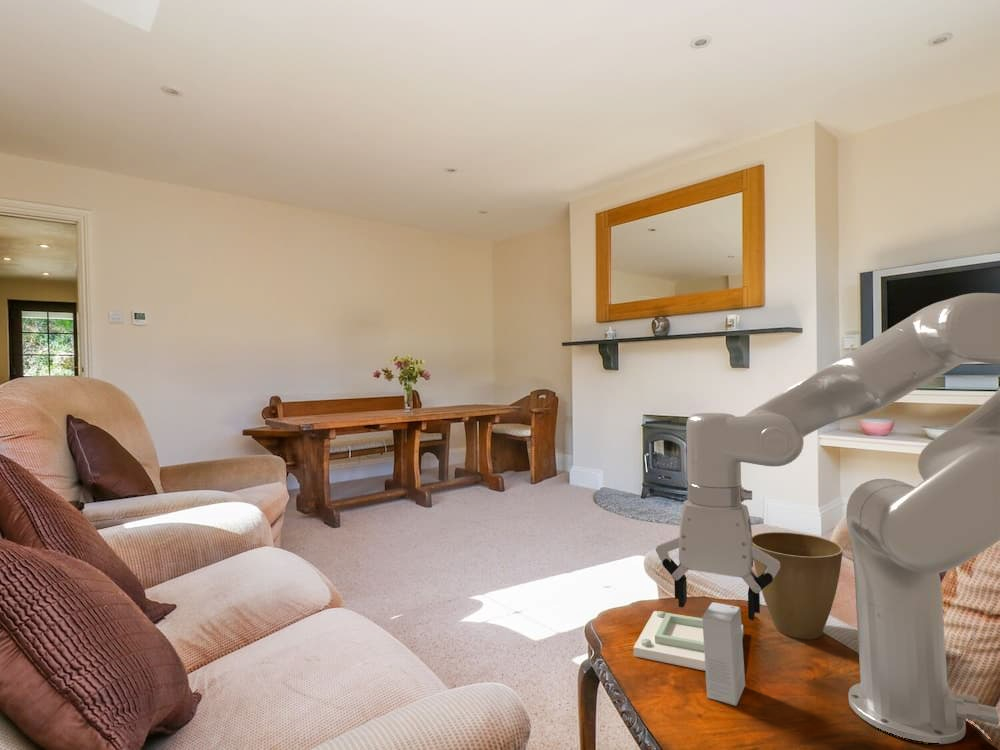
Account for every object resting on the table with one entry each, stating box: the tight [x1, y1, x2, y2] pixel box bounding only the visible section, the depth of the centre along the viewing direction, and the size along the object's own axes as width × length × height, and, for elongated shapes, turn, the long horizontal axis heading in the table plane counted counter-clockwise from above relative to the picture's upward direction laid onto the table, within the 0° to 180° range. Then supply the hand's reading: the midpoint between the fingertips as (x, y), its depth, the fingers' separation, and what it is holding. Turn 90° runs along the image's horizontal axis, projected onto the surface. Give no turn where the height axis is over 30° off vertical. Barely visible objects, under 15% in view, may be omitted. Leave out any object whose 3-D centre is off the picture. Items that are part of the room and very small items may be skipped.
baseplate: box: [632, 610, 744, 672], centre depth 94 cm, size 16×16×3 cm
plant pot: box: [752, 531, 844, 640], centre depth 97 cm, size 15×15×16 cm
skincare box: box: [701, 601, 746, 706], centre depth 79 cm, size 6×4×12 cm
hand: (716, 610), depth 79 cm, fingers open, 9 cm apart
